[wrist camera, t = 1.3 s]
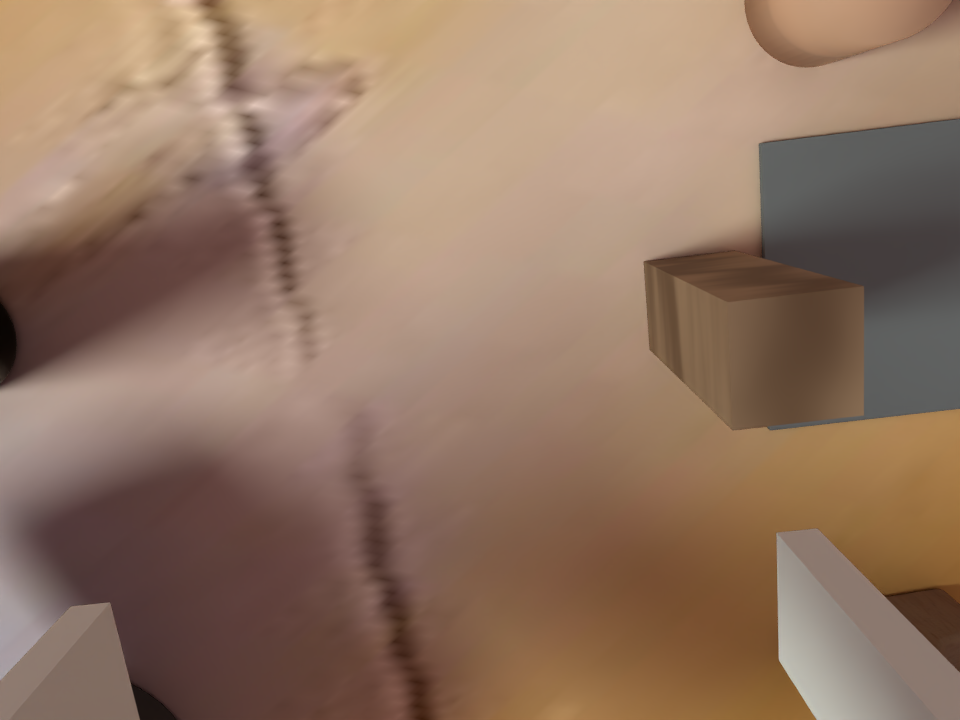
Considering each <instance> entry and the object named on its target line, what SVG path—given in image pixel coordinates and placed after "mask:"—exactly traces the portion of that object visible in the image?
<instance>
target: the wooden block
mask: <svg viewBox="0 0 960 720" xmlns="http://www.w3.org/2000/svg"><path fill="white" fill-rule="evenodd" d="M886 598H887V599H888V600H889V601H890V602H891V603H892V604H893V605H894V606H895V607H896V609H897V610H898V611H899V612H900V613H901V614H902V615H903V616H904V617H905V618H906V619H907V620H908V621H909V622H910V623H911V624H912V625H913V626H914V627H915V628H916V629H917V630H918V631H919V632H920V633H921V634H922V635H923V636H924V637H925V638H926V639H927V640H928V641H929V642H930V643H931V644H932V645H933V646H934V647H935V648H936V649H937V650H938V651H939V652H940V653H941V654H942V655H943V656H944V657H945V658H946V659H947V660H948V661H949V662H950V663H951V664H952V665H953V666H954V667H955V668H956V669H957V670H958V671H959V672H960V604H959V603H957V602H956V601H955V600H954V599H953V598H952V597H951V596H949V595H948V594H947V593H946V592H945V591H944V590H941V589H932V590H926V591H920V592H914V593H907V594H901V595H895V596H889V597H886Z"/></svg>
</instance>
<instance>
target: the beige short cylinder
mask: <svg viewBox="0 0 960 720" xmlns="http://www.w3.org/2000/svg"><path fill="white" fill-rule="evenodd" d="M952 1H953V0H745V13H746V17H747V22H748V24H749V27H750V30H751V32H752V34H753V36H754V38H755V39H756V41H757V42H758V43H759V45H760V46H761V47H762V48H763V49H764V50H765V51H766V52H767V53H768V54H769V55H771V56H772V57H773V58H775V59H777V60H778V61H780V62H783V63H785V64H788V65H792V66H796V67H817V66H822V65H826V64H829V63H832V62H835V61H838V60H841V59H844V58H847V57H850V56H853V55H856V54H859V53H862V52H865V51H868V50H872V49H875V48H878V47H881V46H884V45H887V44H890V43H893V42H896V41H899V40H902V39H905V38H908V37H910V36H912V35H914V34H916V33H918V32H920V31H921V30H923V29H924V28H926V27H927V26H929V25H930V24H931V23H932V22H934V21H935V20H936V19H937V18H938V17H939V16H940V15H941V14H942V13H943V12H944V11H945V10H946V8H947V7H948V6H949V5H950V3H951V2H952Z"/></svg>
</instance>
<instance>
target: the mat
mask: <svg viewBox="0 0 960 720" xmlns="http://www.w3.org/2000/svg"><path fill="white" fill-rule="evenodd" d="M759 160H760V193H761V226H762V258H763V259H767V260H771V261H774V262H778V263H782V264H785V265H789V266H793V267H796V268H800V269H804V270H807V271H811V272H815V273H818V274H822V275H825V276H829V277H833V278H836V279H840V280H844V281H847V282H851V283H855V284H858V285H862V286H864V416H855V417H846V418H837V419H829V420H820V421H811V422H803V423H794V424H785V425H777V426H768V429H769V430H778V429H787V428H796V427H804V426H813V425H822V424H830V423H839V422H848V421H857V420H865V419H874V418H883V417H891V416H900V415H909V414H918V413H926V412H935V411H944V410H952V409H960V119H955V120H947V121H939V122H931V123H923V124H915V125H906V126H898V127H890V128H882V129H874V130H866V131H858V132H850V133H841V134H833V135H825V136H817V137H809V138H801V139H793V140H785V141H777V142H768V143H760V144H759Z"/></svg>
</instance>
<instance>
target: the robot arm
mask: <svg viewBox="0 0 960 720" xmlns="http://www.w3.org/2000/svg"><path fill="white" fill-rule="evenodd" d="M777 585H778V640H779V661H780V663H781V664H782V666H783V668H784V669H785V671H786V672H787V674H788V675H789V677H790V679H791V680H792V682H793V683H794V685H795V686H796V688H797V690H798V691H799V693H800V694H801V696H802V697H803V699H804V701H805V702H806V704H807V705H808V707H809V708H810V710H811V712H812V713H813V715H814V716H815V718H816V719H817V720H960V672H959V671H958V670H957V669H956V668H955V667H954V666H953V665H952V664H951V663H950V662H949V661H948V660H947V659H946V658H945V657H944V656H943V655H942V654H941V653H940V652H939V651H938V650H937V649H936V648H935V647H934V646H933V645H932V644H931V643H930V642H929V641H928V640H927V639H926V638H925V637H924V636H923V635H922V634H921V633H920V632H919V631H918V630H917V629H916V628H915V627H914V626H913V625H912V624H911V623H910V622H909V621H908V620H907V619H906V618H905V617H904V616H903V615H902V614H901V613H900V612H899V611H898V610H897V609H896V607H895V606H894V605H893V604H892V603H891V602H890V601H889V600H888V599H887V598H886V597H885V596H884V595H883V594H882V593H881V592H880V591H879V590H878V589H877V588H876V587H875V586H874V585H873V584H872V583H871V582H870V581H869V580H868V579H867V578H866V577H865V576H864V575H863V574H862V573H861V572H860V571H859V570H858V569H857V568H856V567H855V566H854V565H853V564H852V563H851V562H850V561H849V560H848V559H847V558H846V557H845V556H844V555H843V554H842V553H841V552H840V551H839V550H838V549H837V548H836V547H835V546H834V545H833V544H832V543H831V542H830V541H829V540H828V539H827V538H826V537H825V536H824V535H823V534H822V533H821V532H820V531H819V530H818V529H817V528H816V529H807V530H797V531H787V532H778V533H777ZM0 720H176V719H175V718H174V716H173V715H172V714H171V713H170V712H169V711H168V710H167V709H166V708H165V707H164V706H163V705H162V704H160V703H159V702H158V701H157V700H156V699H154V698H153V697H151V696H150V695H149V694H147V693H146V692H144V691H142V690H141V689H139V688H137V687H135V686H134V685H132V684H131V683H130V679H129V675H128V671H127V667H126V663H125V659H124V655H123V651H122V647H121V643H120V639H119V635H118V632H117V628H116V624H115V620H114V616H113V612H112V608H111V604H110V602H109V603H99V604H89V605H80V606H71V607H70V608H69V609H68V610H67V611H66V612H65V613H64V614H63V615H62V616H61V617H60V618H59V619H58V620H57V621H56V623H55V624H54V625H53V626H52V627H51V628H50V629H49V630H48V631H47V632H46V633H45V634H44V635H43V636H42V637H41V638H40V639H39V641H38V642H37V643H36V644H35V645H34V646H33V647H32V648H31V649H30V650H29V651H28V652H27V653H26V654H25V655H24V656H23V657H22V659H21V660H20V661H19V662H18V663H17V664H16V665H15V666H14V667H13V668H12V669H11V670H10V671H9V672H8V673H7V674H6V675H5V677H4V678H3V679H2V680H1V681H0Z"/></svg>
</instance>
